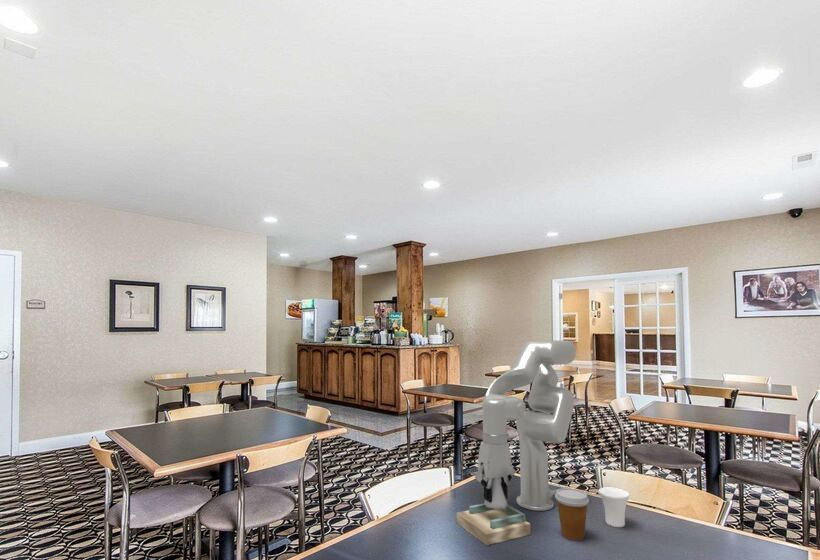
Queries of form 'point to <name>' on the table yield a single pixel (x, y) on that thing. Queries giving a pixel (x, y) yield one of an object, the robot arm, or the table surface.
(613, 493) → the cup
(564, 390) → the robot arm
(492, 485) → the flask
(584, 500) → the disposable coffee cup
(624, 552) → the table surface
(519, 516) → the dock
